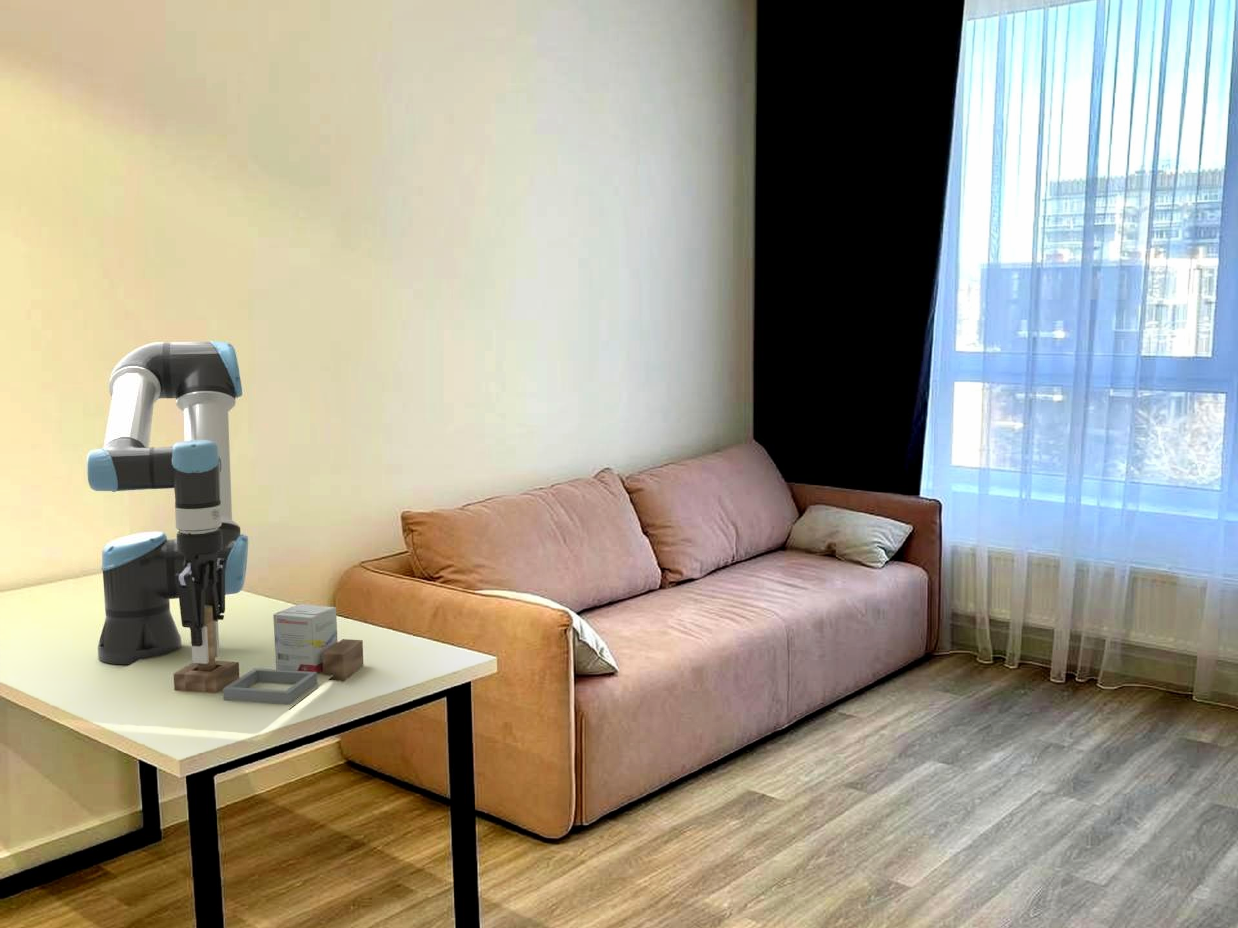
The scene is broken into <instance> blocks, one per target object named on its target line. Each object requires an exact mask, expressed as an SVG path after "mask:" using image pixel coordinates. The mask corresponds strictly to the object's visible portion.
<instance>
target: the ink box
mask: <svg viewBox="0 0 1238 928" xmlns="http://www.w3.org/2000/svg"><path fill="white" fill-rule="evenodd" d="M272 615H273V630H274V631H273V632H274V633H273V634H274V653H275V657H274V658H275V670H290V671H306V672H317V674H319V673H321V672H323V661H322V653H324V652H325V651H326V650H328V649H329V648H331V647H332V646H334V645H335V644H336V643H338V642H339V641H338V623H337V620H338V619H337V607H334V606H326V605H313V604H306V603H305V604H303V603H299V604H297V605H294V606H291V607H289V608H285V609H283V610H280V611H278V612H276V613H274V614H272Z"/></svg>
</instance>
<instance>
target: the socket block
mask: <svg viewBox="0 0 1238 928" xmlns="http://www.w3.org/2000/svg"><path fill="white" fill-rule="evenodd" d="M215 666H216V669H215V670H213V671H211V672H208V671H198V667H197V663H193V662H192V663H190V664H188V665H186V666H184V667H183V668H181V669H179V670H177V671H176V672H173V689H174V691H177V692H178V691H179V692H180V691H181V692H193V693H209V694H218V693H219V692H221V691H223V688H225V687H226V686H228V685H229V684H231V683H232V682H234V681H236V680H237V679H239V678H240V677H241V676H240V662H239V661H228V660H215Z"/></svg>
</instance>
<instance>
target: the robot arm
mask: <svg viewBox="0 0 1238 928" xmlns="http://www.w3.org/2000/svg"><path fill="white" fill-rule="evenodd" d="M108 390H109V394H110V396H111V398H112V400H111V404H110V409H109V415H108V421H107V426H106V433H105V438H104V444H103V447H102V448H98V449H92V450H90V451H89V452H88V453H87V457H86V471H87V473H86V474H87V480H88V481H87V482H88V485H89V487H90V489H91V490H92V491H94V492H95V491H96V492H112V493H116V492H123V491H124V492H125V491H126V492H127V491H143V490H161V489H162V490H165V489H166V490H167V489H173V491H174V499H175V500H174V510H175V511H174V512H175V514H174V515H175V528H176V529H177V530H178V532H177V533H176V538H175V539H168V537H167V536H168V535H166V533H165V532H164V531H145V532H139V533H133V534H130V535H125V536H122V537H118V538H116V539H114V540H111V541H109V542H108V543H106V545H104V547H103V549H102V552H101V557H102V558H101V559H102V560H101V561H102V562H101V567H100V569H101V571H102V578H103V579H102V580H103V593H104V594H103V595H104V596H103V597H104V609H105V613H104V614H105V618H104V619H105V620H104V623H103V626H102V630H101V634H100V637H99V641H98V644H97V657H98V660H99V661H100V662H103V663H107V664H112V665H132V664H133V665H134V663H137V662H138V661H141V660H147V659H154V658H159V657H162V656H166V655H168V654H171V653H174V652H176V651H177V650H179V649H180V648H181V647H182V637H181V634H180V632H179V630H178V626H177V624H176V622H175V620H174V618H173V615H172V613H171V605H170V604H171V602H170V600H175V599H177V600H179V601H178V602H179V612H180V620H181V626H182V627H183V628H189V629H190V640H191V641H190V643H191V659H192V660H191V661H192V663H202V664H207V663H209V653H208V634H207V627H205V626H204V607H205V605H211V606H212V611H213V629H214V648H215V658H219V657H221V655H220V638H219V637H220V635H219V621H222V620H224V619H225V615H224V614H225V612H226V595H235V594H238V593H240V592H241V591H242V590H243V588H244V585H245V582H246V574H247V567H248V566H247V564H248V548H249V537H248V535H246V534H244V533H243V534H241V525H239V524H238V523H236V521H234V520H233V507H232V482H231V480H232V479H231V477H232V476H231V458H230V457H231V455H230V451H231V449H230V429H229V427H230V425H229V412H230V411H231V410H232V409H233V408H234V407H236V399H238V398H240V397H242V395H243V386H242V381H241V375H240V368H239V363H238V358H237V352H236V350H235V348H234V346H233V345H232V344H231V343H229V342H226V341H225V342H223V341H221V342H220V341H213V340H209V341H189V342H188V341H187V342H184V341H183V342H181V341H180V342H179V341H178V342H177V341H176V342H175V341H174V342H168V341H167V342H164V341H161V342H160V341H159V342H158V341H157V342H152V343H148V344H145V345H142V346H140V347H138V348H135V349H134V350H133V351H131V352H130V353H128V354H127V355H126V356H124V357H123V358H122V359H121V360H120V361H119V362H118V363H117V364H116V365H115V367H114V369H113V370H112V372H111V375H110V379H109V383H108ZM159 399H175V404H176V406H177V408H178V409H179V410H181V411H182V412H183V413H184V414H183V416H184V417H183V421H184V440H182V441H178V442H175V443H174V444H173V445H172V446H161V447H155V446H154V447H153V446H152V447H150V442H151V440H150V439H151V431H152V421H153V412H154V405H155V403H156V402H157V401H158V400H159Z"/></svg>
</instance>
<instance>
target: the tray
mask: <svg viewBox="0 0 1238 928" xmlns="http://www.w3.org/2000/svg"><path fill="white" fill-rule="evenodd" d="M239 677H240V678H239V679H237V680H236V681H234V682H232V683H231V684H229V685H228V686H226V687H225V688H223V689H222V691H223V692H222V693H223V695H222V696H223V701H233V702H244V703H248V702H250V703H260V704H261V703H262V704H263V703H264V704H273V705H274V704H276V705H277V704H278V705H290V704H292V703H294V702H295V701H296V700H298V699H299V698H300V697H301V696H303V695H304V694H305V693H307V692H308V691H309V690H311V689H312V688H313V687H315V686H316V685H317V684H318V673H317V672H306V671H290V670H276V669H272V668H271V669H270V668H256V667H254V668H252V669H251V670H249V671H247V673H245V674H242V676H239ZM258 682H260V683H261V682H262V683H277V684H292V686H290V687H289V688H288V689H286V690H285V689H284V690H283V689H267V688H266V689H265V688H254V687H251V686H253V685H254V684H256V683H258ZM317 690H318V687H316V688H315V689H313V690H312V691H311V692H310V693H309V694H307V695H305V696H304V698H302V699H301V700H299V701H298V702H297V703H295V704H294V705H293V706H291V707H290V708H289V709H288V711H289V710H291V709H293V708H294V707H295V706H296V705H298V704H299V703H300V702H302V701H304V700H305V699H306V698H307V697H308V696H310V695H312V693H314V692H315V691H317Z"/></svg>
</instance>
